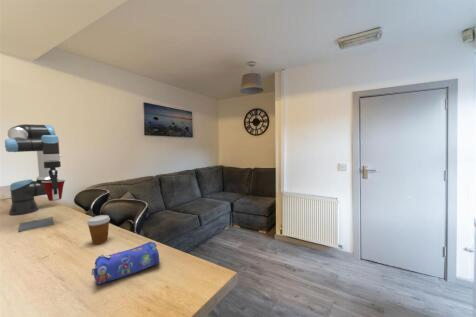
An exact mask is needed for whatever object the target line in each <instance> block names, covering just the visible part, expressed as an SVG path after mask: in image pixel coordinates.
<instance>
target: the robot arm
mask: <svg viewBox="0 0 476 317" xmlns="http://www.w3.org/2000/svg"><path fill="white" fill-rule="evenodd" d="M7 136H8V138H6V139H5V140H4V146H5V147H4V148H5V152H7V153H18V152H19V153H21V152H22V153H23V152H26V153H27V152H36V156H37V157H36V158H37V169H38V170H37V171H38V176H37V177H36V180H33V179H23V180H19V181H15V182H12V183H10V189H9V191H10V197H11V198H10V199H11V206H10V208H9V211H8V213H9V214H8V215H9V216H20V215H25V214H26V215H27V214H31V213H35V212H37V211H38V210H39V206H38V204H37V202H36V200H35V197H39V196H47V194H46V191H45V188H44V185H43V183H42V181H48V180H51V181H52V188H51V189H52V195H53V200H55V201H58V200H57V199H59V193H58V182H57V180H60V179H59V178H58V177H59V176H58V170H57V169H56V168H61V166H62V165H61V157H62V155H61V154H60V153H61V152H60V140H59V137H58V135H57V134H56V131H55V128H54V127H53V125H49V124H26V123H25V124H17V125H14V126H12V127H10V128H9V129H8V131H7Z"/></svg>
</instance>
